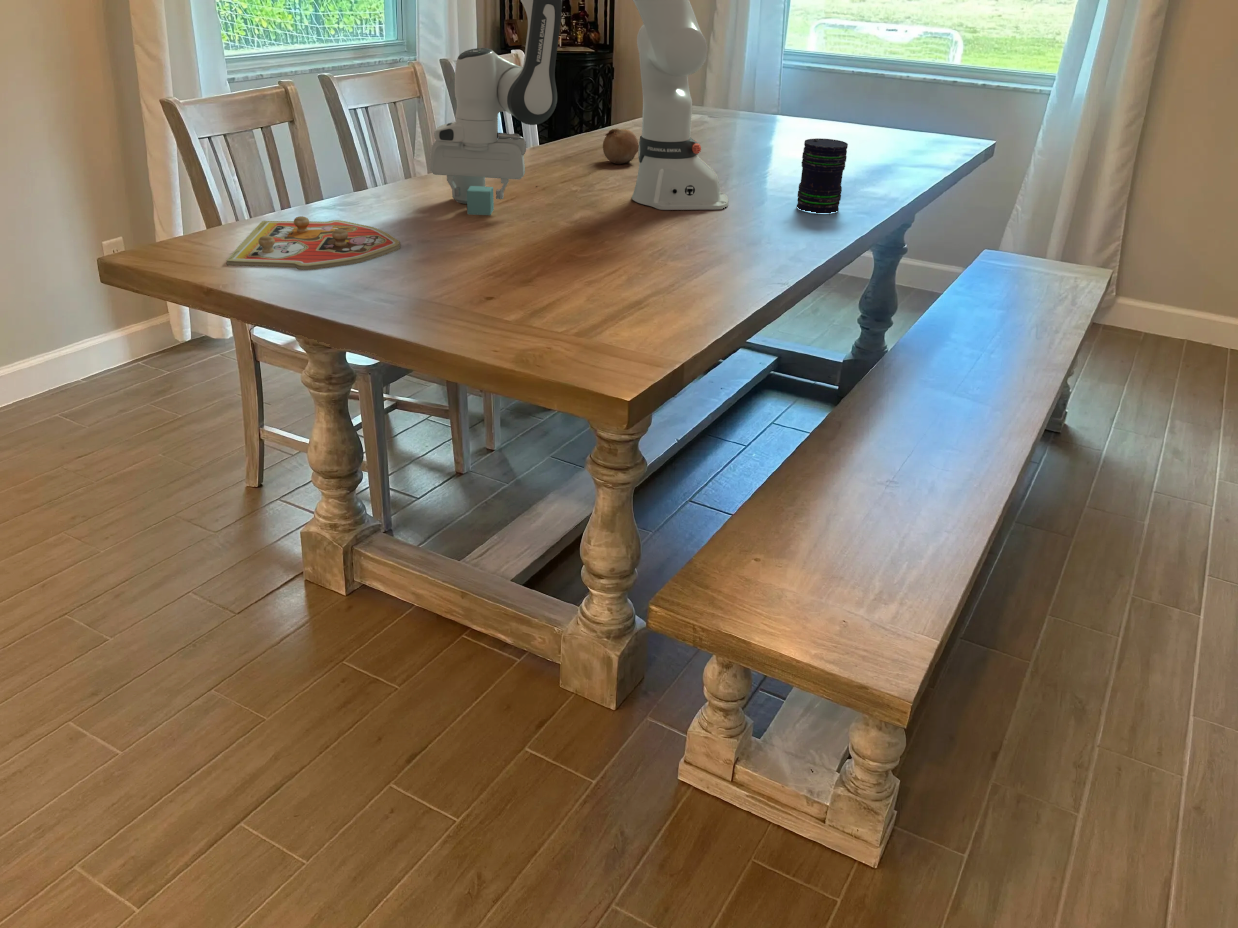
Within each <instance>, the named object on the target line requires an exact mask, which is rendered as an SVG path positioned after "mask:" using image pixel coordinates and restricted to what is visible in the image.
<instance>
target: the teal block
mask: <svg viewBox="0 0 1238 928" xmlns="http://www.w3.org/2000/svg"><path fill="white" fill-rule="evenodd" d="M494 199H495V198H494V186H485V187H482V186H470V187H469V189H468V190H467V204H466V209H467V210H466V211H467V212H466V213H467V215H473V216H474V215H478V216H491V215H492V213H493V212H494V211H495V209H494V207H495V206H494V205H495V203H494Z"/></svg>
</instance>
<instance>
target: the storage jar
mask: <svg viewBox="0 0 1238 928" xmlns="http://www.w3.org/2000/svg"><path fill="white" fill-rule="evenodd" d="M803 145H804V147H803V152H802V157H801V158H802V159H801V167H802V169H801V176H800V183H799V184H798V190H797V204H796V208H797V207H798V208H799V209H801V210H805V211H811V212H816V213H831V212H836V211H838V212H839V210H840V208H839V206H840V201H841V199H842V189H843V187H842V180H843V174H844V171H845V168H846V162H847V157H848V156H847V153H848V152H847V151H848V150H847V149H848V147H849V146H848V145H849V144H848V143H847V142H846V141H843V140H838V139H832V138H820V137H819V138H809V139H805V140H804V143H803Z"/></svg>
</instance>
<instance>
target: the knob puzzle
mask: <svg viewBox="0 0 1238 928" xmlns="http://www.w3.org/2000/svg"><path fill="white" fill-rule="evenodd" d="M400 249H401V242H400V241H399V240H398V239H397V238H395V237H394V236H392V235H391V234H389V233H387V232H386V231H384V230H381V229H379V228H376V227H374V226H370V225H364V224H360V223H354V222H350V221H346V220H340V219H333V220H328V221H313V220H312V221H310V219H309V218H308V217H306V216H303V215H302V216H297V217H295V218H294V219H293V220H262V221H261V222H259V224H258V225H256V227H255V228H254V229H253V230H252V232H250V233H249V235H247V237H246V238H245V239H244V240H243V241H242V242H241V243H240V245H239V246H238V247H236V249H235V250H234V251H233V252H232V253H231V254H230V256H229V257H228V258H226V265H227V266H233V267H262V268H263V267H264V268H265V267H267V268H270V267H271V268H292V269H297V270H299V271H308V270H309V271H312V270H319V269H320V270H321V269H328V268H336V267H341V266H347V265H348V266H349V265H354V264H360V263H363V262H367V261H371V260H374V259H377V258H380V257H383V256H386V255H389V254H392V253H393V252H396V251H399V250H400Z"/></svg>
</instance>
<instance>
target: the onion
mask: <svg viewBox="0 0 1238 928" xmlns="http://www.w3.org/2000/svg"><path fill="white" fill-rule="evenodd" d="M604 136H605V137H604V139H603V141H602V149H603V150H602V151H603V154H604V156H605V158H606V159H607V161H610V162H611V163H613V164H615V165H621V164H628V163H630V162H632V161H633V159H635V157H636V155H637V153H638V150H639V141H638V140H639V139H638V138H637V135H636V134H635V133H634V132H633V131H631V130H629V129H624V128H621V129H620V128H616V127H615V128H612V129H610V130H608V131H607V133H606V134H605V135H604Z"/></svg>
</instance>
